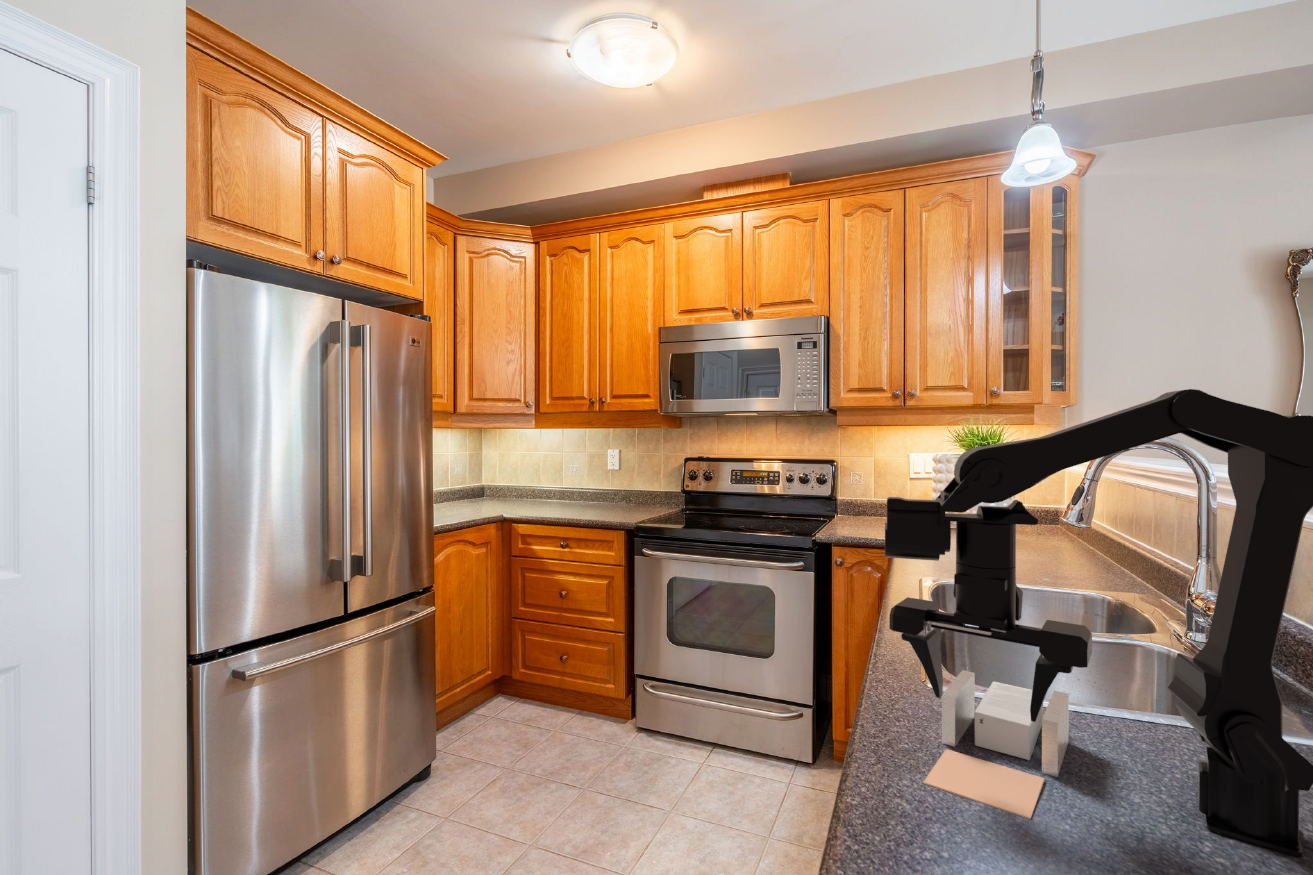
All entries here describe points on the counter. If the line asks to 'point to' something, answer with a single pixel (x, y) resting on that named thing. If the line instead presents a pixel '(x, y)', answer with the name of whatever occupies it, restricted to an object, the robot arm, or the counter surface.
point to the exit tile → (986, 783)
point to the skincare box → (1007, 721)
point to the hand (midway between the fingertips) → (984, 707)
